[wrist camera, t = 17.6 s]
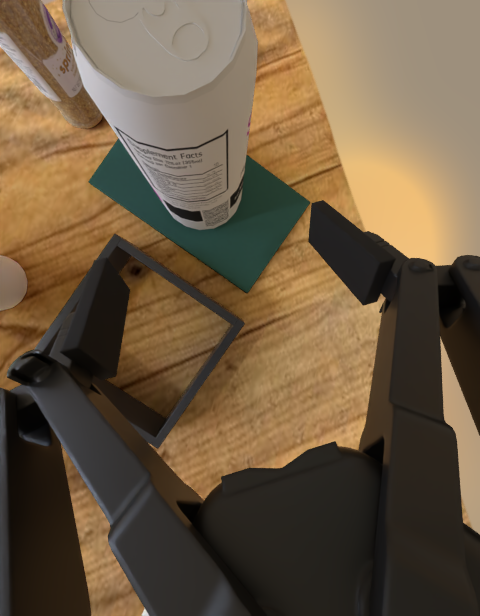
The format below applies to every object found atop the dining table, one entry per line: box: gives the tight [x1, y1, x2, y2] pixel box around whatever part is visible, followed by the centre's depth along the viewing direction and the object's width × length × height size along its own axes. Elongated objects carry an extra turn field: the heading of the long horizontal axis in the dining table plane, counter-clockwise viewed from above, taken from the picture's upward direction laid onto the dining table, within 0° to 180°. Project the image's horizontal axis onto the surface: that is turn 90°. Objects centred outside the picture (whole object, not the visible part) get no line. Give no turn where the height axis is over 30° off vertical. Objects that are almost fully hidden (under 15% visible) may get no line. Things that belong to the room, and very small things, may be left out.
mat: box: [89, 138, 310, 293], centre depth 24 cm, size 20×12×1 cm, turn 55°
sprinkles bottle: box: [0, 0, 103, 129], centre depth 16 cm, size 5×5×14 cm
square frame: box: [34, 234, 245, 448], centre depth 23 cm, size 15×15×4 cm
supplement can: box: [63, 0, 258, 230], centre depth 16 cm, size 8×8×15 cm
